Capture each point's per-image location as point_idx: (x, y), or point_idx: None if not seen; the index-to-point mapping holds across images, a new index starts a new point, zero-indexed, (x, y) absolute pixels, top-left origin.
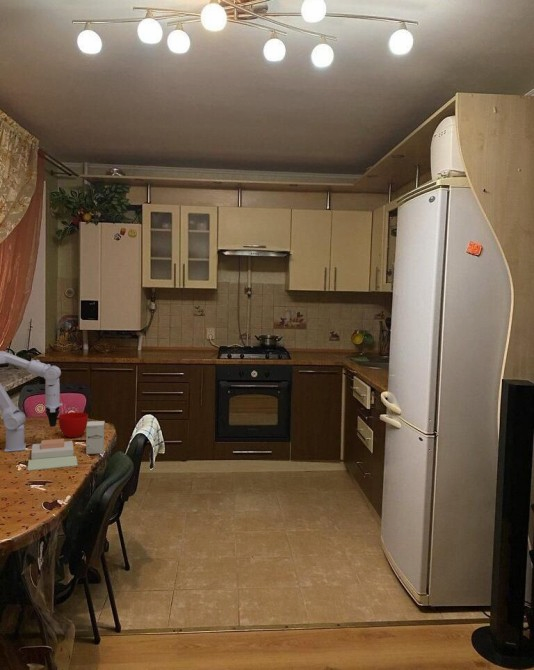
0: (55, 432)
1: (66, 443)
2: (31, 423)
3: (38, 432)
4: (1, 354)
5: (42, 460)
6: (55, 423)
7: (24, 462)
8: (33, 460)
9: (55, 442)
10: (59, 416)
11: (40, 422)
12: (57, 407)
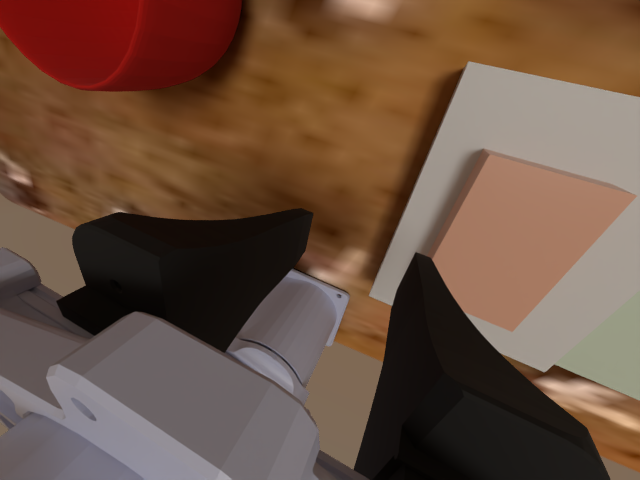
0: None
1: (508, 133)
2: (26, 144)
3: (125, 158)
4: None
5: (613, 323)
6: (439, 277)
7: None
8: None
9: (551, 250)
10: (60, 75)
11: (9, 108)
12: (163, 294)
